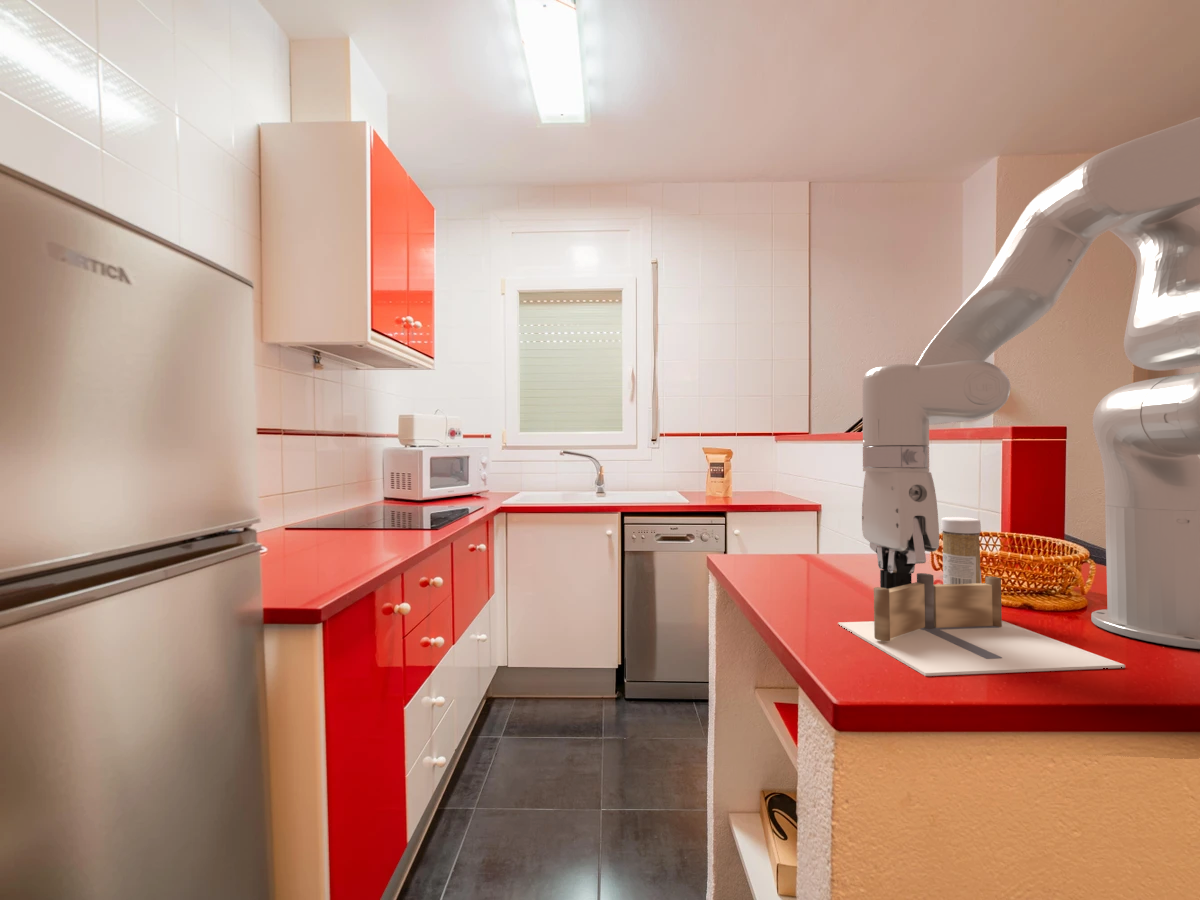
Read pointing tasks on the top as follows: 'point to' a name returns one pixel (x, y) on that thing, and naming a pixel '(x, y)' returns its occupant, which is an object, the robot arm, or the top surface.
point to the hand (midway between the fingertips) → (895, 601)
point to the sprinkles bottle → (961, 550)
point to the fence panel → (898, 610)
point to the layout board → (980, 650)
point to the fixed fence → (961, 603)
